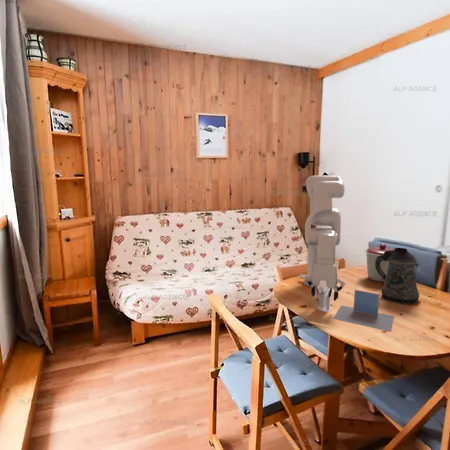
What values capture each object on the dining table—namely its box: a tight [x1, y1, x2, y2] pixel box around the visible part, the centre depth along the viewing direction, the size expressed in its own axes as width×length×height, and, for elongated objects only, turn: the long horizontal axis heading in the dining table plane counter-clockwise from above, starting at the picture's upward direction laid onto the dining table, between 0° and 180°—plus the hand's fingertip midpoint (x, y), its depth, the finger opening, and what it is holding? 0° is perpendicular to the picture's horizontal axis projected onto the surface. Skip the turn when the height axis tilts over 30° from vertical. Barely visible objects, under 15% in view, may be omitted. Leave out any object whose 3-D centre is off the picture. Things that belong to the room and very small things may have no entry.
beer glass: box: [316, 280, 334, 313], centre depth 145 cm, size 7×7×15 cm
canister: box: [364, 243, 395, 283], centre depth 185 cm, size 18×18×21 cm
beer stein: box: [375, 247, 420, 306], centre depth 157 cm, size 16×19×25 cm
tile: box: [353, 288, 381, 316], centre depth 140 cm, size 10×2×10 cm, turn 58°
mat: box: [332, 305, 395, 333], centre depth 137 cm, size 22×16×1 cm
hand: (324, 297), depth 145 cm, fingers open, 9 cm apart
